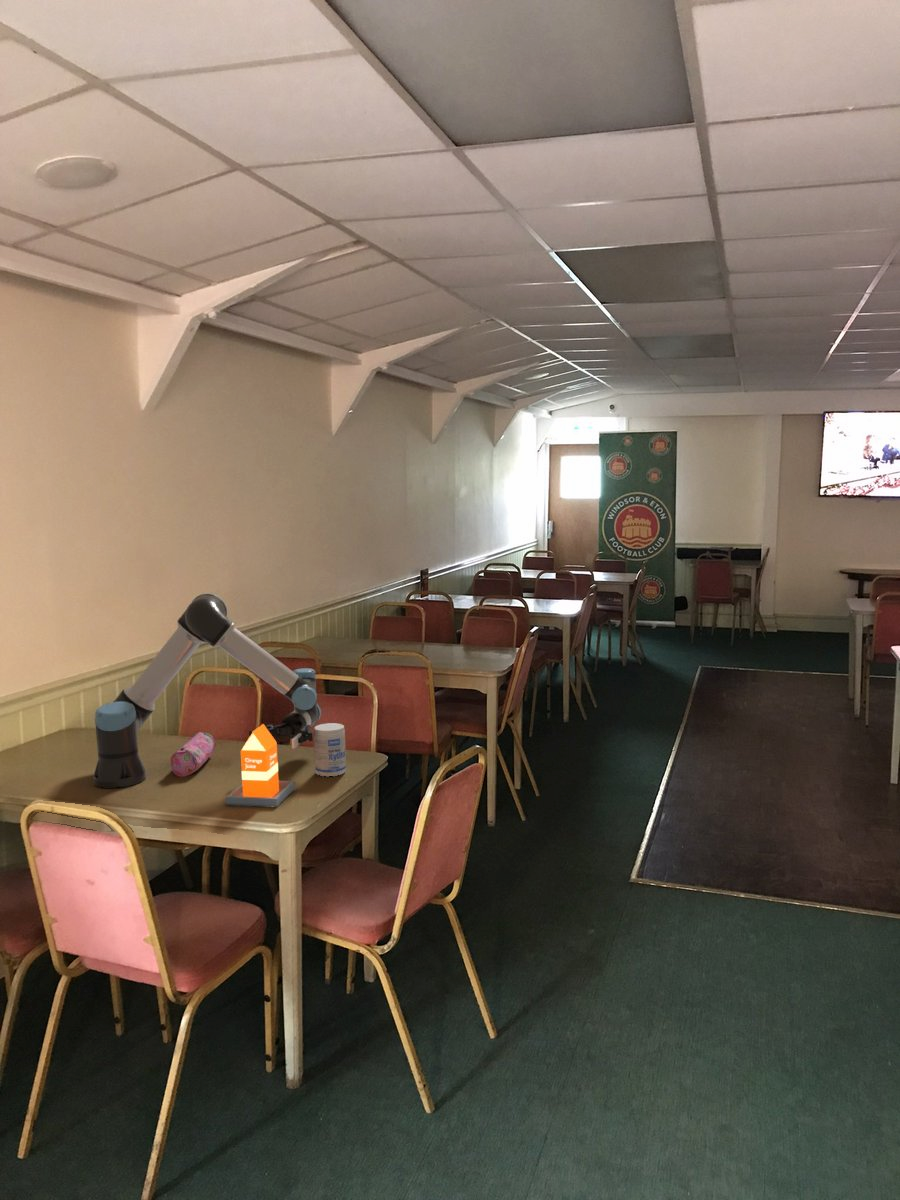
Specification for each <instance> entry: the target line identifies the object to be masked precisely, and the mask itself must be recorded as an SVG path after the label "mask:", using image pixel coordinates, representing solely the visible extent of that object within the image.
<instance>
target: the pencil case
mask: <svg viewBox="0 0 900 1200" xmlns="http://www.w3.org/2000/svg"><path fill="white" fill-rule="evenodd" d="M215 750H216V740H215V738H214V737H213V735H212V734H210V733H207V732H201V731H199V732H198V733H195V734H193V735H192V736H191V737H190V740H188V741H187V742H186V743H184V744H183V745H182V746H181V747H180V748H179V749H177V750H176V751H174V753H172V754H171V756H170V766H171V770H172V772H173V774H174V775H176V776H177V777H188V776H190V775H192V774H193V773H195V772H196V771H198V770H199V769H200V768H201V767H202V766H203V765H204V764H205V763H206V762H207V761H208V759H209V758H210V757H211V756H212V754H213V753H214V752H215Z"/></svg>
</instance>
